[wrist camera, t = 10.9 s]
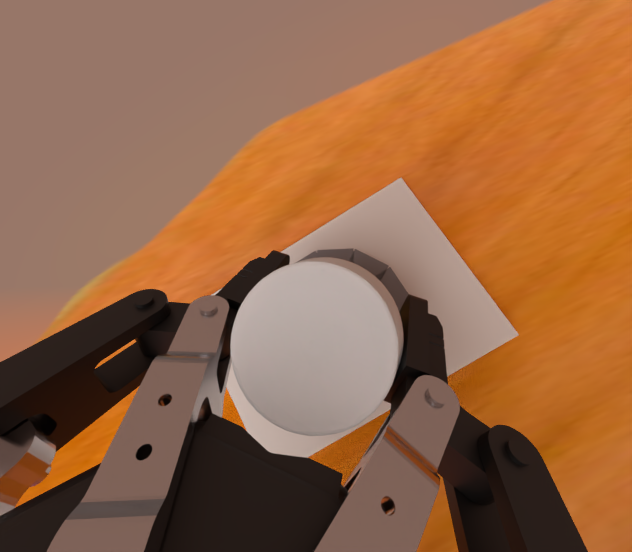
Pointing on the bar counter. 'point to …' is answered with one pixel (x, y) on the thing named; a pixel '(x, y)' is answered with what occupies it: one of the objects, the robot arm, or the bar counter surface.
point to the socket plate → (393, 293)
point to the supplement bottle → (317, 346)
